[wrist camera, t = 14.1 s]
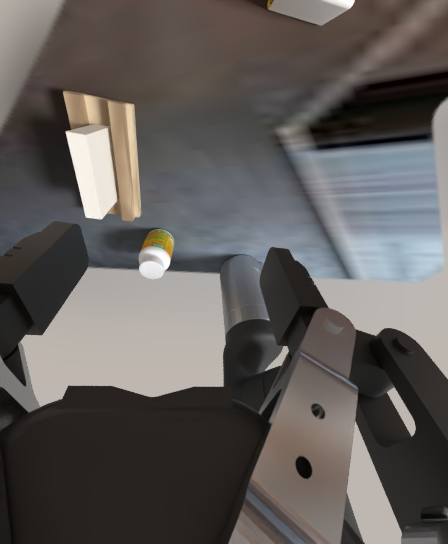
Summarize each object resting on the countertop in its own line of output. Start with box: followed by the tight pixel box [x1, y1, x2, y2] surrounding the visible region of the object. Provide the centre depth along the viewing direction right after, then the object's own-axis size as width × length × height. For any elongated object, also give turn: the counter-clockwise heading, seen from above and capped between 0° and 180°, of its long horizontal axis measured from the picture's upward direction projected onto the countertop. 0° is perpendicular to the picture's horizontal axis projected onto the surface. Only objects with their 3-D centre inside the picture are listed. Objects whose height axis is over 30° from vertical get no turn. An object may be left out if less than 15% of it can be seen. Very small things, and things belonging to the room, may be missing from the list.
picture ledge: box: [63, 91, 141, 221], centre depth 33 cm, size 8×16×3 cm, turn 170°
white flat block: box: [66, 124, 119, 219], centre depth 30 cm, size 2×10×8 cm, turn 170°
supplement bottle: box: [139, 229, 174, 280], centre depth 39 cm, size 5×5×10 cm
